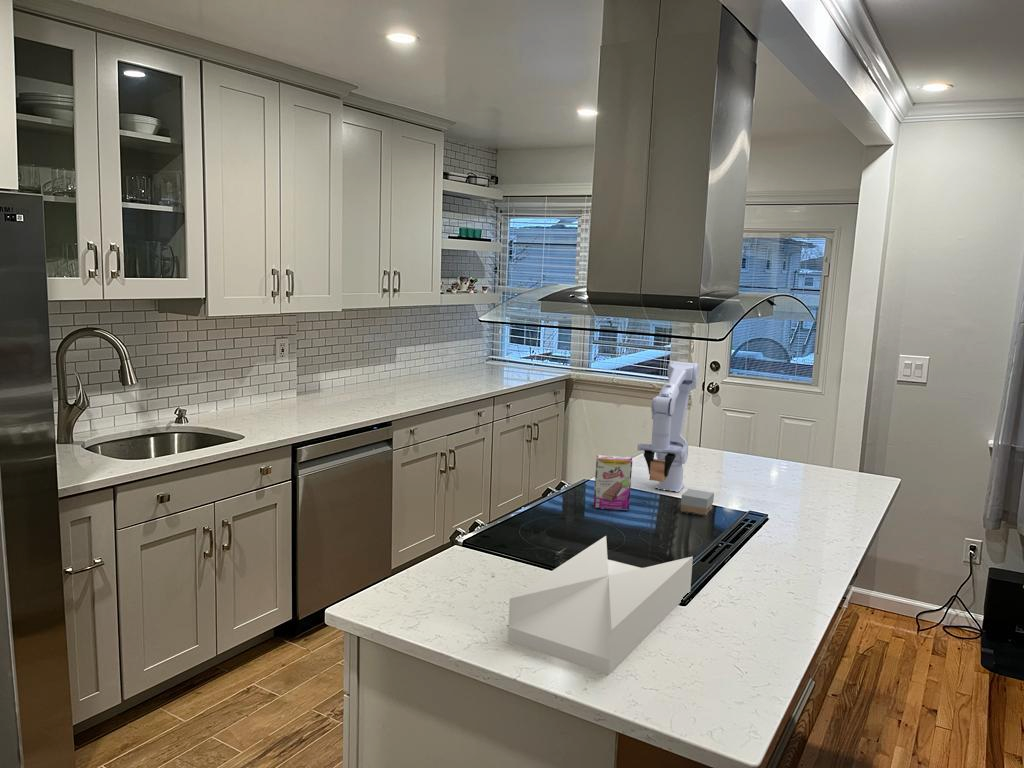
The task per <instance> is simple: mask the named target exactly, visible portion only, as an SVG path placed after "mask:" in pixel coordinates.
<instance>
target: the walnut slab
mask: <svg viewBox="0 0 1024 768" xmlns="http://www.w3.org/2000/svg"><path fill="white" fill-rule="evenodd" d="M711 509H712V510H713V503H712V504H711V505H710V506H709V507H708V508H707V509H705V508H699V507H694V506H688V505H682V504H681V503H680V511H681V510H682V511H688V512H695V513H700V514H705V515H707V513H708V512H709V511H710V510H711ZM712 510H711V511H712ZM707 516H708V515H707Z"/></svg>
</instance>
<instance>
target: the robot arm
mask: <svg viewBox="0 0 1024 768" xmlns="http://www.w3.org/2000/svg"><path fill="white" fill-rule="evenodd" d="M666 374H667V378H668V382H667V383H664V384H663V386H662V388H661V389H660V391H659V393H658V395H657V396H655V397H653V399H652V401H651V406H650V407H651V409H650V410H651V419H652V427H651V428H652V429H651V434H652V435H651V444H650V443H649V444H648V443H639V444H637V447H636V448H637V451H638V452H639V451H640V452H641V451H644V452H643V457H644V460H645V461H646V465H647V470H648V475H650V463H651V461H652V460H654V459H655V457H656V459H659V460H665V472H664V476H665V477H667V479H666V480H665V481H664V482H659V481H658V482H659V484H658V485H656V486H655V488H659V489H665V490H670V491H669V492H671V491H677V492H676V493H679V492H680V491H681V490H682V489H684V487H686V485H685V484H683V478H684V477H683V476H684V466H683V465H685V464H686V463H687V461H688V456H689V443H688V440H687V439H685V437H683V433H684V425H685V421H686V416H687V410H688V404H689V398H690V395H691V391H693V390H695V389H697V385H698V381H699V376H700V365H699V364H698V363H697V362H693V363H692V362H685V361H684V362H683V361H675V360H670V362H669V363H668V365H667V372H666ZM659 489H658V490H659ZM665 490H664V491H665Z"/></svg>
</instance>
